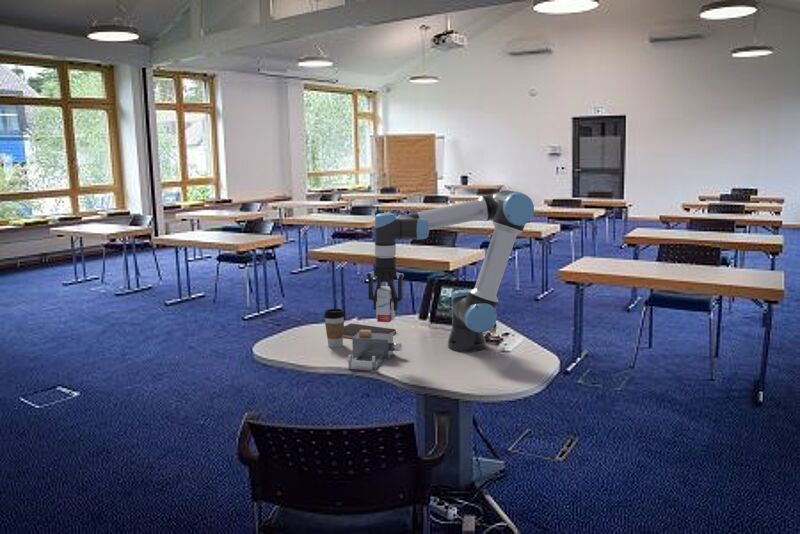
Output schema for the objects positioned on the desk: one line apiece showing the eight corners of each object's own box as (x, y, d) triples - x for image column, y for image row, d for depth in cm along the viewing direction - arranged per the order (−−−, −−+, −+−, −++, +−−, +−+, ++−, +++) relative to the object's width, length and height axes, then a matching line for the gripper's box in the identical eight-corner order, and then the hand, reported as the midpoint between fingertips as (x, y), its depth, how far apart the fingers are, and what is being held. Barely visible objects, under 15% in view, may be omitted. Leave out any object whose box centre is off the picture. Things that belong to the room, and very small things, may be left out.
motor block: (403, 354, 260) (402, 329, 258) (398, 360, 252) (398, 335, 250) (358, 352, 264) (358, 327, 262) (353, 358, 256) (352, 333, 254)
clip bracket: (383, 359, 253) (382, 347, 253) (375, 370, 242) (374, 357, 241) (358, 358, 256) (357, 345, 255) (348, 368, 244) (348, 355, 243)
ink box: (389, 322, 241) (389, 290, 239) (376, 322, 242) (376, 290, 240) (394, 317, 249) (394, 286, 247) (381, 316, 250) (381, 285, 248)
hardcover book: (377, 343, 276) (376, 338, 276) (331, 337, 288) (331, 331, 287) (396, 333, 290) (395, 328, 290) (351, 327, 301) (351, 322, 301)
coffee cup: (321, 347, 271) (319, 311, 268) (331, 341, 279) (329, 306, 276) (340, 349, 268) (338, 313, 265) (349, 343, 275) (348, 308, 273)
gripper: (411, 255, 243) (411, 317, 247) (364, 253, 247) (364, 315, 251) (407, 258, 236) (407, 322, 240) (358, 257, 240) (359, 320, 244)
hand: (385, 318), depth 246 cm, fingers closed on ink box, 5 cm apart
